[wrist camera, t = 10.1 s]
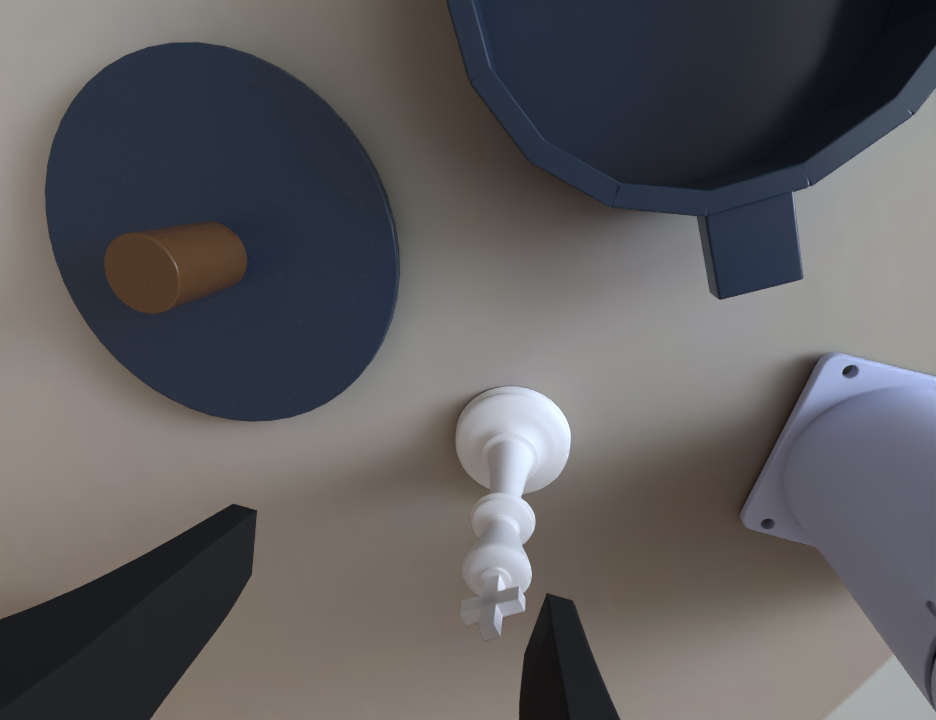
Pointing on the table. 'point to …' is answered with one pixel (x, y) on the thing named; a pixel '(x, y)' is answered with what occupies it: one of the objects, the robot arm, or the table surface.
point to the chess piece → (506, 494)
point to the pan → (701, 104)
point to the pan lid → (222, 231)
